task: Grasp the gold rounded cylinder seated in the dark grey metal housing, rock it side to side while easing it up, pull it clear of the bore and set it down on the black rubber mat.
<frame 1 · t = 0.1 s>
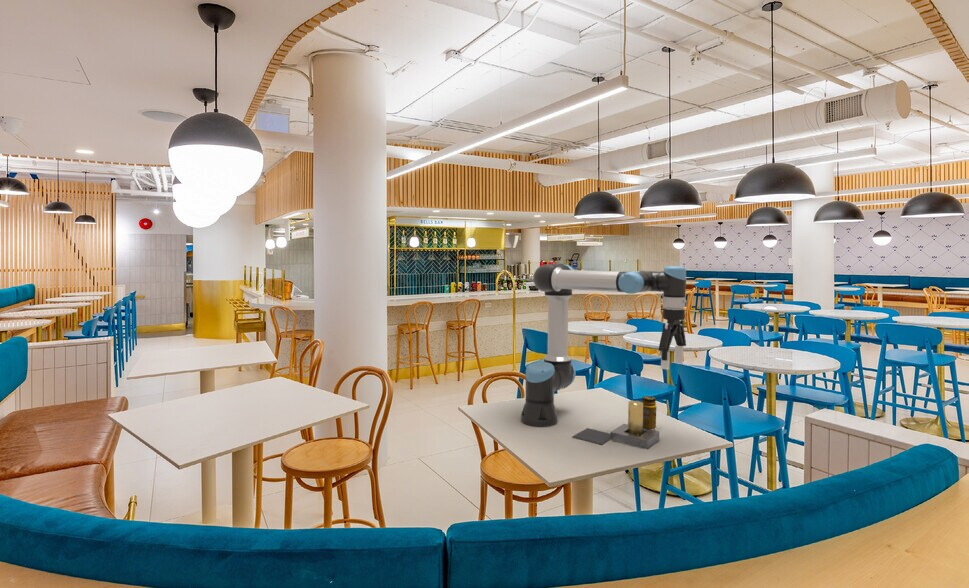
hand: (672, 366, 183), 28 cm above the table, fingers open, 13 cm apart
housing: (634, 439, 185), on the table
mat: (594, 436, 188), on the table
gold rounded cylinder: (635, 421, 184), in the housing
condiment: (646, 427, 198), on the table
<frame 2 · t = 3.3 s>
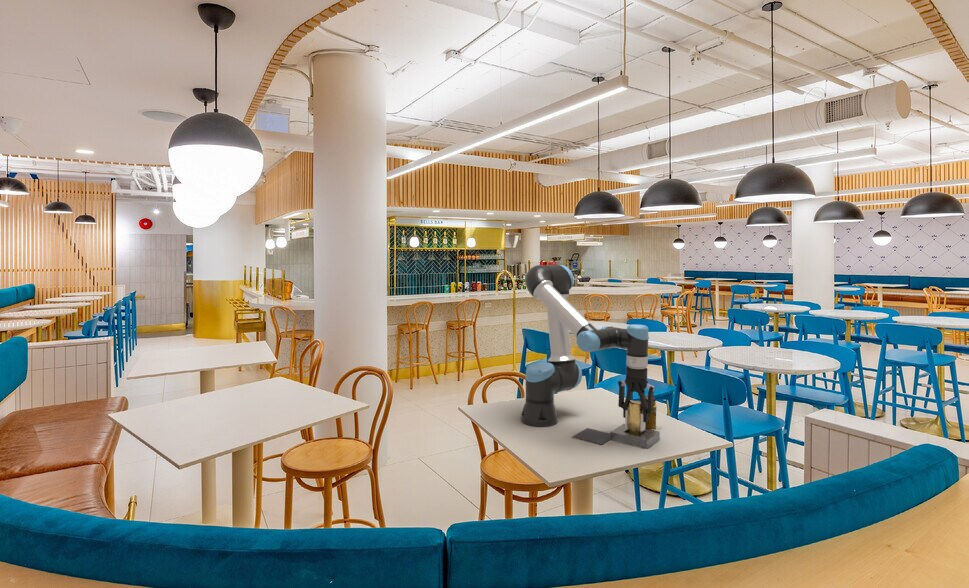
hand: (635, 428, 184), 4 cm above the table, fingers closed on gold rounded cylinder, 5 cm apart
gold rounded cylinder: (635, 421, 184), in the housing, touching gripper
everything else where it was.
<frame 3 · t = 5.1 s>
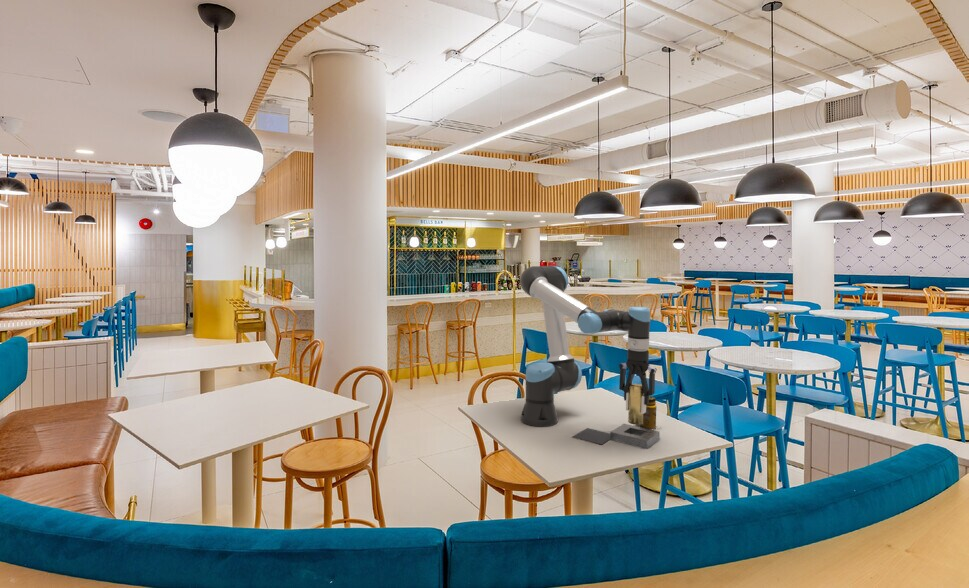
hand: (635, 411, 184), 11 cm above the table, fingers closed on gold rounded cylinder, 5 cm apart
gold rounded cylinder: (636, 403, 184), point 14 cm above the table, touching gripper
everything else where it was.
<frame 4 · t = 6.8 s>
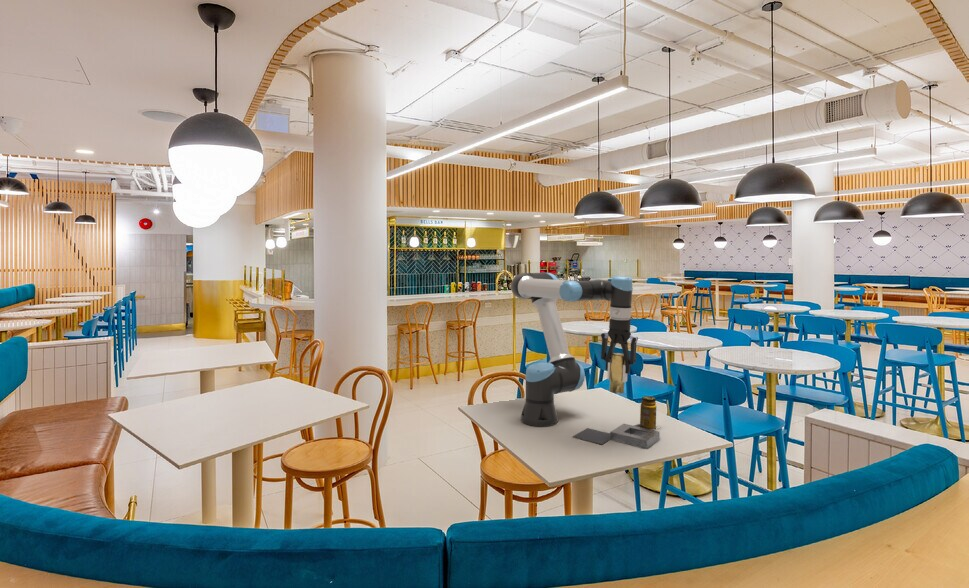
hand: (617, 380, 185), 22 cm above the table, fingers closed on gold rounded cylinder, 5 cm apart
gold rounded cylinder: (617, 373, 185), point 25 cm above the table, touching gripper
everything else where it was.
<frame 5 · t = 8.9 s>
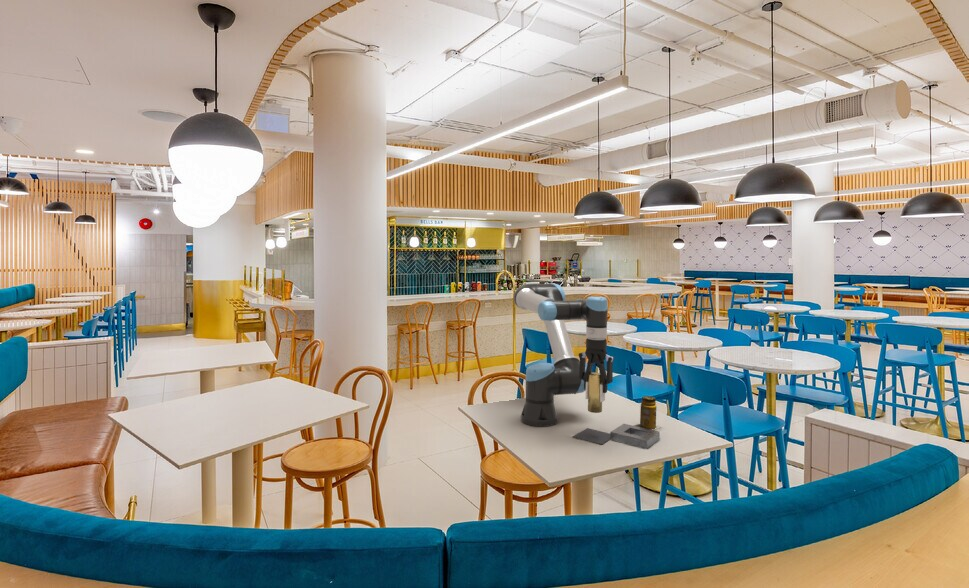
hand: (595, 399, 186), 14 cm above the table, fingers closed on gold rounded cylinder, 5 cm apart
gold rounded cylinder: (595, 392, 186), point 17 cm above the table, touching gripper
everything else where it was.
when the fingers open (6 cm above the table, at t = 10.7 s): gold rounded cylinder drops 2 cm, resting on mat.
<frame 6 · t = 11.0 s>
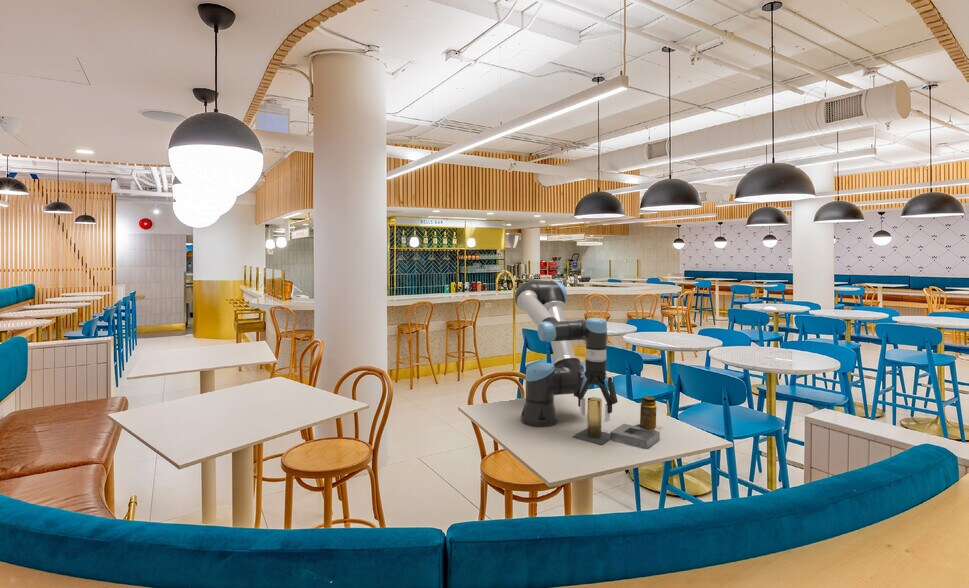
hand: (594, 418, 187), 7 cm above the table, fingers open, 9 cm apart
gold rounded cylinder: (594, 417, 187), on the mat
everything else where it was.
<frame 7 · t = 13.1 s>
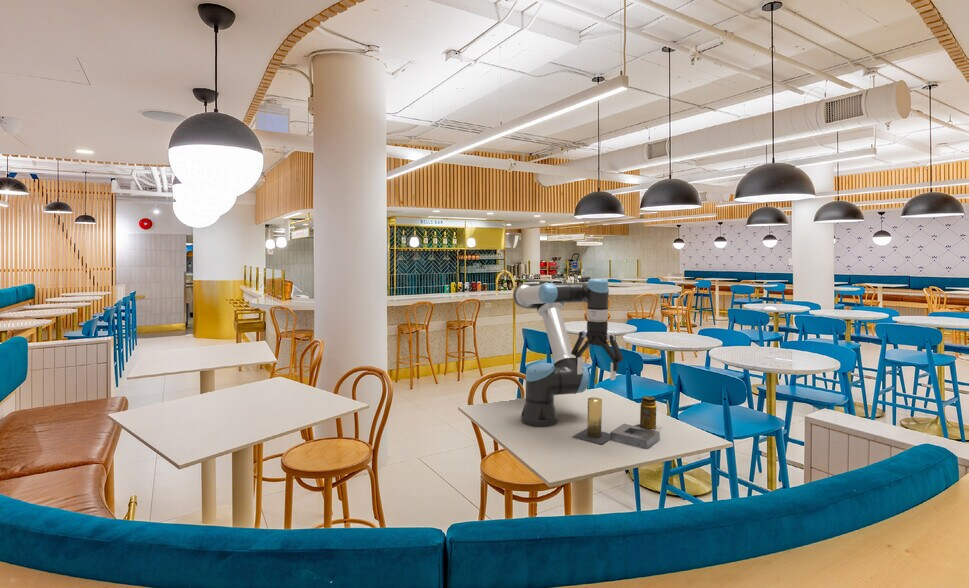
hand: (596, 376, 186), 23 cm above the table, fingers open, 13 cm apart
nothing on the table moved.
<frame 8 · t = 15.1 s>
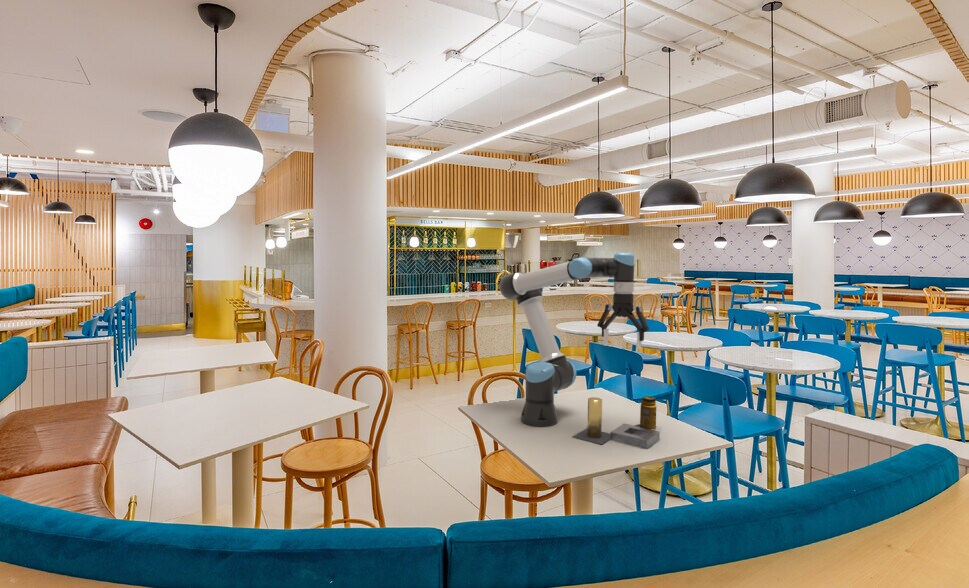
hand: (622, 347, 193), 33 cm above the table, fingers open, 13 cm apart
nothing on the table moved.
at the end: gold rounded cylinder inside the target area on the mat (0.0 cm from its centre), point 7.4 cm above the mat's base; gold rounded cylinder tilted 0°; the gripper is holding nothing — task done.
